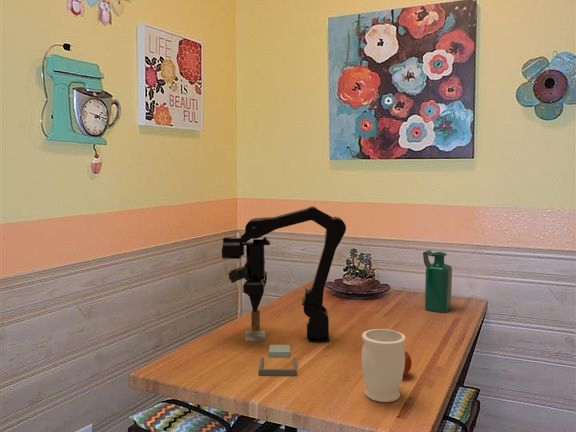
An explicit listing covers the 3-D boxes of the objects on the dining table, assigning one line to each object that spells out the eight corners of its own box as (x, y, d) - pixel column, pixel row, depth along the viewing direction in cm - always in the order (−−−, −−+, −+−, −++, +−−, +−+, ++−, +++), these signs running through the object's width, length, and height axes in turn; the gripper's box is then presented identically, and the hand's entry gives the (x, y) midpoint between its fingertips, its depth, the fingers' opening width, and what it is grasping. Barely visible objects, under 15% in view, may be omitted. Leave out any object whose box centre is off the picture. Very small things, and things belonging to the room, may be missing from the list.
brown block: (266, 336, 171) (266, 310, 170) (265, 341, 168) (265, 313, 167) (246, 336, 172) (246, 310, 171) (245, 340, 168) (244, 313, 167)
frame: (296, 362, 150) (296, 357, 150) (296, 375, 141) (296, 370, 141) (260, 362, 150) (260, 356, 150) (258, 375, 141) (258, 370, 141)
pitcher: (451, 308, 204) (454, 251, 201) (445, 313, 196) (447, 255, 194) (426, 304, 209) (428, 249, 206) (419, 309, 202) (421, 252, 199)
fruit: (379, 372, 143) (380, 343, 142) (401, 368, 146) (401, 340, 145) (394, 382, 137) (395, 352, 136) (416, 377, 140) (417, 348, 139)
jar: (356, 386, 135) (357, 328, 133) (396, 385, 135) (398, 327, 134) (366, 406, 124) (367, 343, 122) (409, 404, 125) (411, 342, 123)
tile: (289, 351, 160) (289, 344, 160) (289, 358, 154) (289, 352, 154) (269, 351, 160) (269, 344, 160) (268, 358, 154) (268, 351, 154)
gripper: (233, 253, 177) (234, 299, 178) (225, 264, 158) (226, 316, 160) (266, 253, 176) (267, 299, 178) (263, 264, 158) (263, 316, 160)
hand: (256, 307), depth 169 cm, fingers open, 9 cm apart
